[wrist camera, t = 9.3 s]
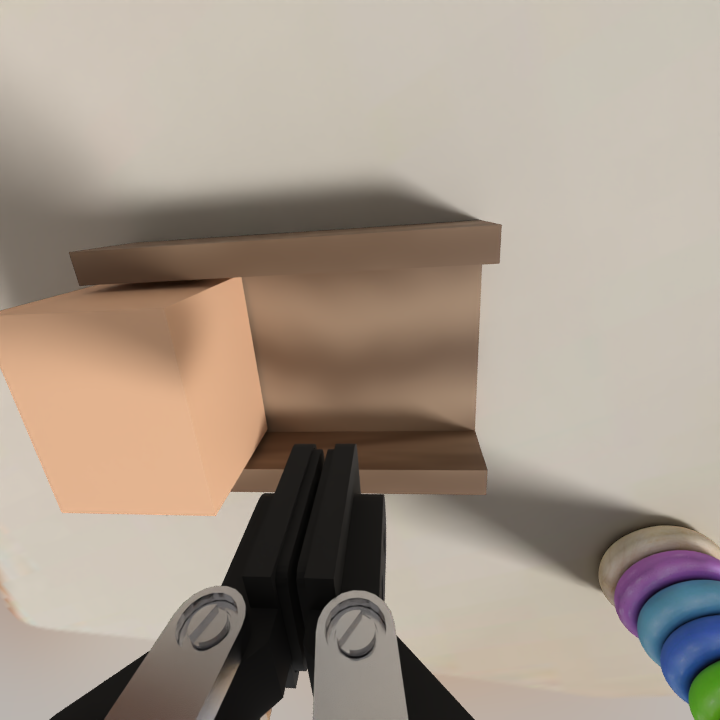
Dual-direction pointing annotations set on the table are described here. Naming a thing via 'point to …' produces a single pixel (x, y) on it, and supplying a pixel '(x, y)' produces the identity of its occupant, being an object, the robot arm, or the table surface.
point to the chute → (349, 342)
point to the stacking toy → (671, 607)
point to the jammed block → (137, 393)
